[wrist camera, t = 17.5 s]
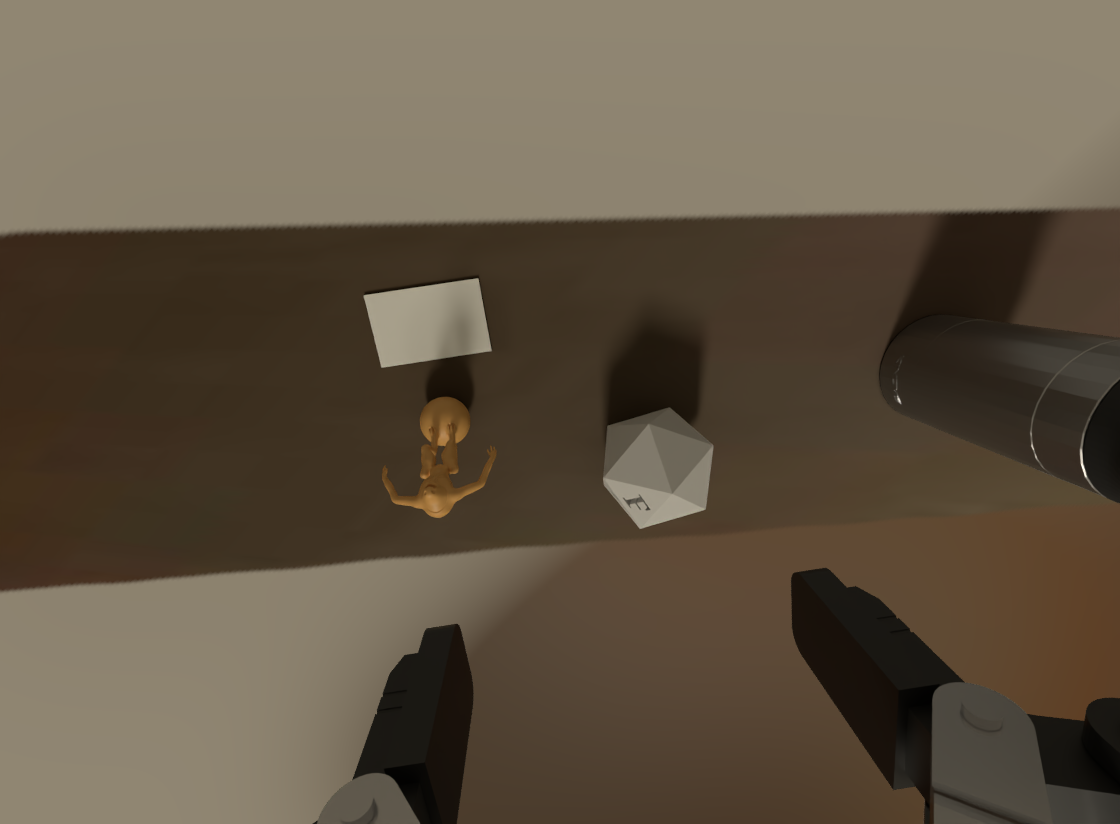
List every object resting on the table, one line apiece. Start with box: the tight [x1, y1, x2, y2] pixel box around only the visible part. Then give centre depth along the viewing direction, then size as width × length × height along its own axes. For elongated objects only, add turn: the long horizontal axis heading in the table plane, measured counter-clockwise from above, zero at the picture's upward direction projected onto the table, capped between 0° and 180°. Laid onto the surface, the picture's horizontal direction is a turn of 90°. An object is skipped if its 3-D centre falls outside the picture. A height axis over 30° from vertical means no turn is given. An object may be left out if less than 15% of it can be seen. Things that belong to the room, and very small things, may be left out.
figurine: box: [382, 397, 496, 518], centre depth 38 cm, size 8×6×12 cm
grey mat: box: [364, 278, 492, 368], centre depth 41 cm, size 9×6×1 cm, turn 98°
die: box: [603, 407, 713, 529], centre depth 41 cm, size 8×9×10 cm
